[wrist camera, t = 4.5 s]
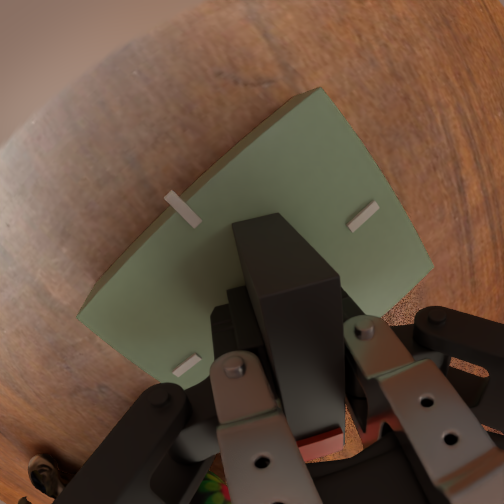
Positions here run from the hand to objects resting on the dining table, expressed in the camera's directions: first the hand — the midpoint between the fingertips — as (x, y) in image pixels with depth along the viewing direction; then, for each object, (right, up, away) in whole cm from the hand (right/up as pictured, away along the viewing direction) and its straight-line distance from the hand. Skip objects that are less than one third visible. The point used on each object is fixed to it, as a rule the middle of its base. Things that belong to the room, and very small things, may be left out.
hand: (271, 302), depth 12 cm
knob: (0, 0, 0) cm, 0 cm away
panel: (-1, +1, +3) cm, 3 cm away
